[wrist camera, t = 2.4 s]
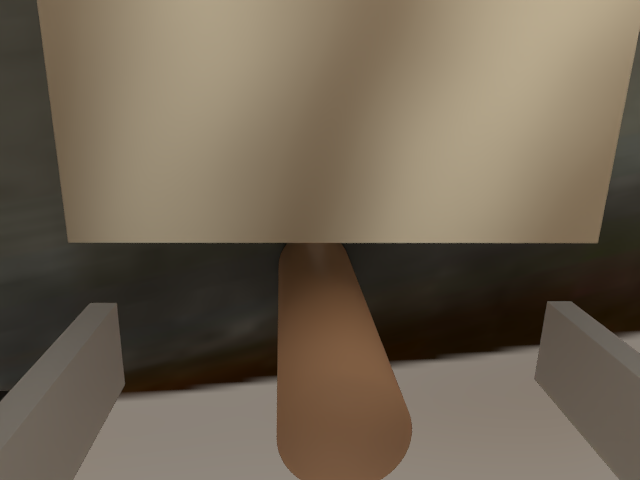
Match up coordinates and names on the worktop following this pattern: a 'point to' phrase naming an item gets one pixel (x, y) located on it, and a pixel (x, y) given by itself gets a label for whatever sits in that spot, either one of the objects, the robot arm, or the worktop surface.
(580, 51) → the open wooden box
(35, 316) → the worktop surface
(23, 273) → the worktop surface
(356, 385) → the block with rod
